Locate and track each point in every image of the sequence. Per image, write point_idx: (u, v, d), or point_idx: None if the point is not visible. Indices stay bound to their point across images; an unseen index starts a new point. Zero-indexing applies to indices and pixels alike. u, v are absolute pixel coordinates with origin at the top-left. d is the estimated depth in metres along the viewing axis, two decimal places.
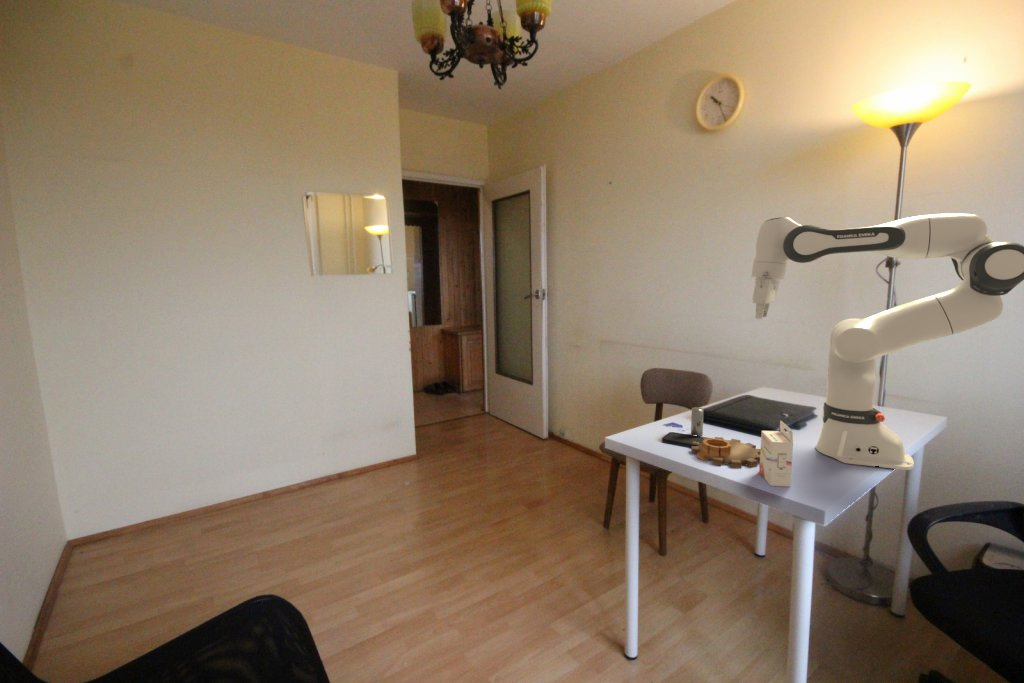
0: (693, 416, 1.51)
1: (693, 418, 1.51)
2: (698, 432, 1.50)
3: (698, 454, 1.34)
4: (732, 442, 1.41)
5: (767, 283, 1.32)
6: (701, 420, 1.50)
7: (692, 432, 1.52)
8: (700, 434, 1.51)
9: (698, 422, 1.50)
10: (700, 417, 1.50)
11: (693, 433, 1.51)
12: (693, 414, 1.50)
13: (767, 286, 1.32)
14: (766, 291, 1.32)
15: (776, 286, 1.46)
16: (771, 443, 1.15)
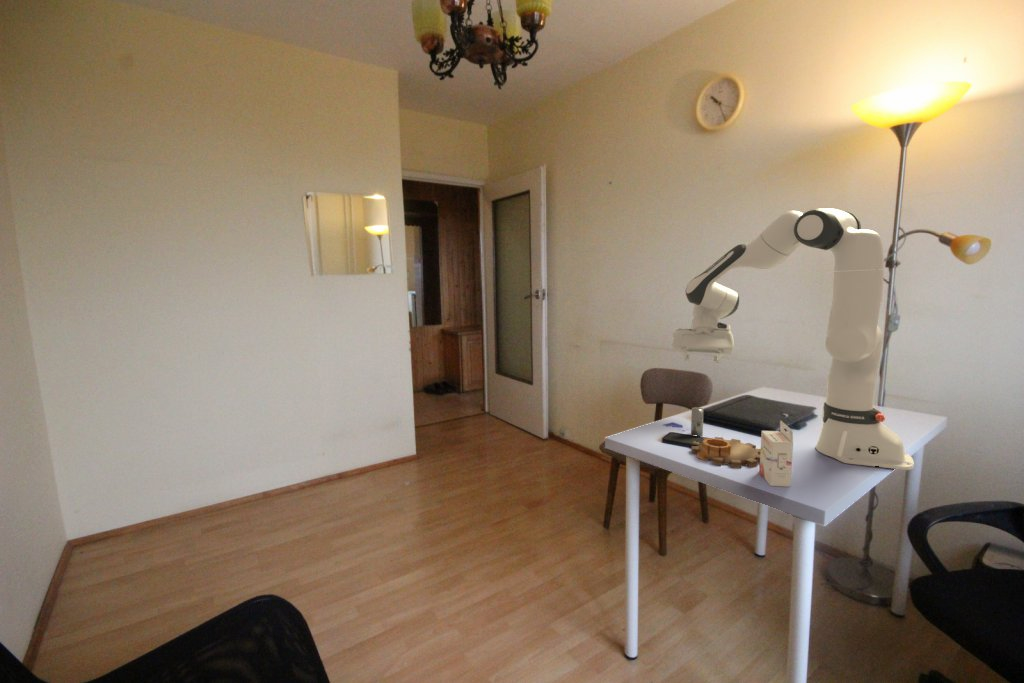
0: (693, 416, 1.51)
1: (693, 418, 1.51)
2: (698, 432, 1.50)
3: (698, 454, 1.34)
4: (732, 442, 1.41)
5: (675, 333, 1.69)
6: (701, 420, 1.50)
7: (692, 432, 1.52)
8: (700, 434, 1.51)
9: (698, 422, 1.50)
10: (700, 417, 1.50)
11: (693, 433, 1.51)
12: (693, 414, 1.50)
13: (675, 334, 1.68)
14: (674, 338, 1.67)
15: (726, 336, 1.61)
16: (771, 443, 1.15)
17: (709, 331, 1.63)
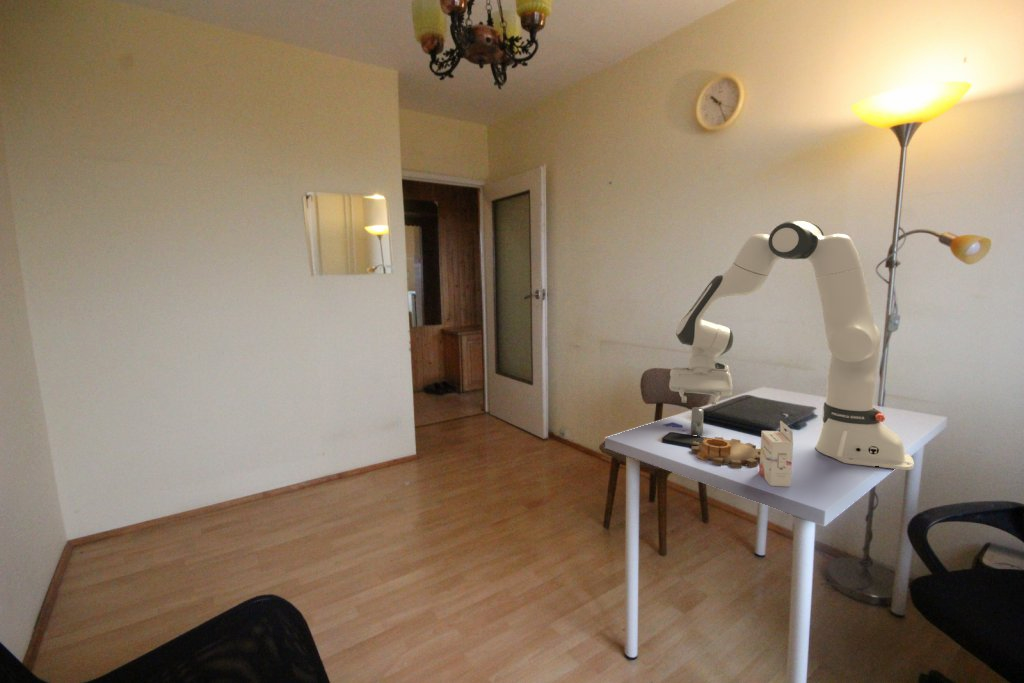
0: (693, 416, 1.51)
1: (693, 418, 1.51)
2: (698, 432, 1.50)
3: (698, 454, 1.34)
4: (732, 442, 1.41)
5: (672, 372, 1.64)
6: (701, 420, 1.50)
7: (692, 432, 1.52)
8: (700, 434, 1.51)
9: (698, 422, 1.50)
10: (700, 417, 1.50)
11: (693, 433, 1.51)
12: (693, 414, 1.50)
13: (672, 374, 1.64)
14: None
15: (724, 377, 1.56)
16: (771, 443, 1.15)
17: (707, 371, 1.59)
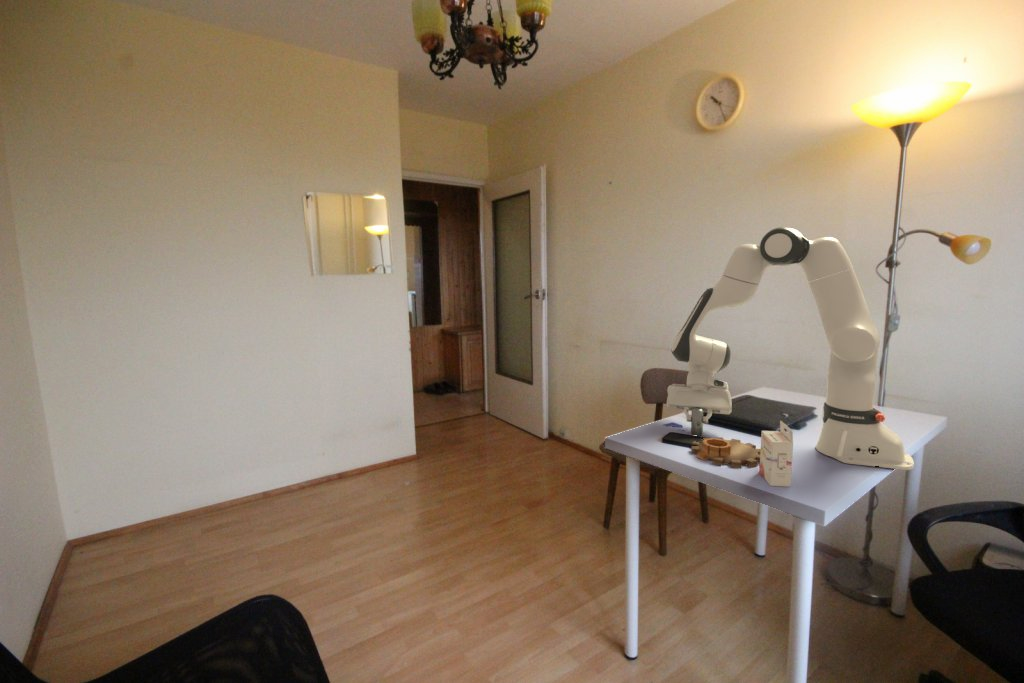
0: (693, 416, 1.51)
1: (693, 418, 1.51)
2: (698, 432, 1.50)
3: (698, 454, 1.34)
4: (732, 442, 1.41)
5: (670, 389, 1.60)
6: (701, 420, 1.50)
7: (692, 432, 1.52)
8: (700, 434, 1.51)
9: (698, 422, 1.50)
10: (700, 417, 1.50)
11: (693, 433, 1.51)
12: (693, 414, 1.50)
13: (669, 391, 1.59)
14: (668, 394, 1.58)
15: (724, 395, 1.51)
16: (771, 443, 1.15)
17: (705, 389, 1.54)
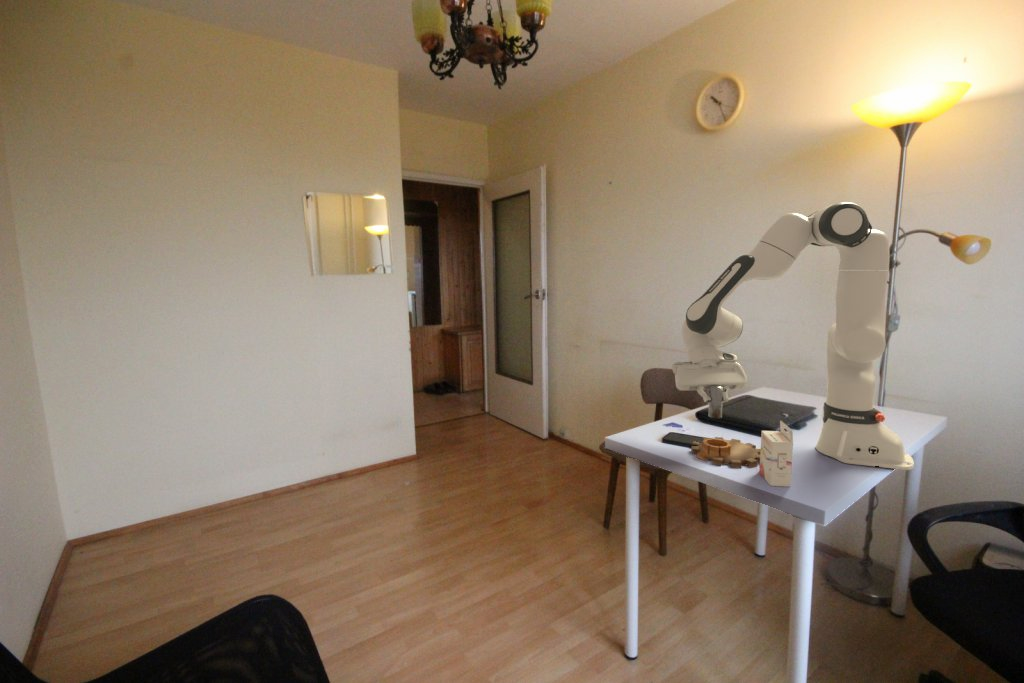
0: (714, 395, 1.33)
1: (714, 397, 1.33)
2: (719, 413, 1.33)
3: (698, 454, 1.34)
4: (732, 442, 1.41)
5: (677, 368, 1.39)
6: (722, 399, 1.33)
7: (712, 414, 1.34)
8: (721, 415, 1.33)
9: (720, 401, 1.32)
10: (721, 396, 1.33)
11: (714, 414, 1.33)
12: (714, 393, 1.33)
13: (677, 370, 1.38)
14: (677, 374, 1.38)
15: (736, 368, 1.38)
16: (771, 443, 1.15)
17: (716, 364, 1.38)
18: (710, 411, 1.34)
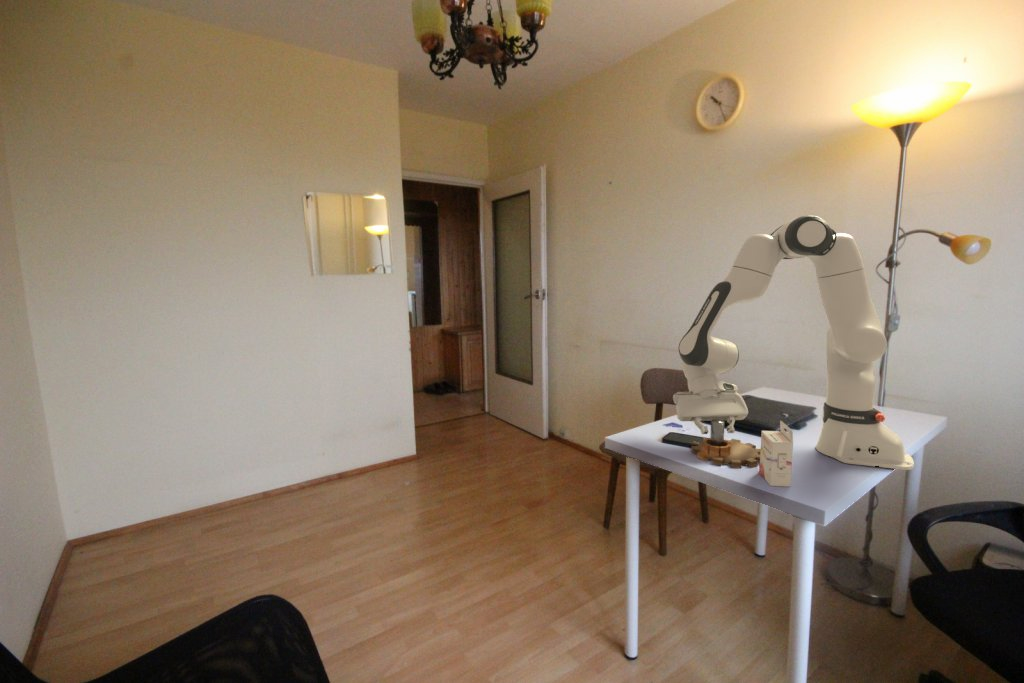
0: (715, 430, 1.33)
1: (715, 432, 1.33)
2: None
3: (698, 454, 1.34)
4: (732, 442, 1.41)
5: (678, 399, 1.39)
6: (723, 433, 1.33)
7: None
8: None
9: (721, 436, 1.32)
10: (723, 431, 1.33)
11: None
12: (715, 428, 1.32)
13: (679, 401, 1.38)
14: (679, 405, 1.37)
15: (736, 399, 1.38)
16: (771, 443, 1.15)
17: (716, 394, 1.38)
18: None
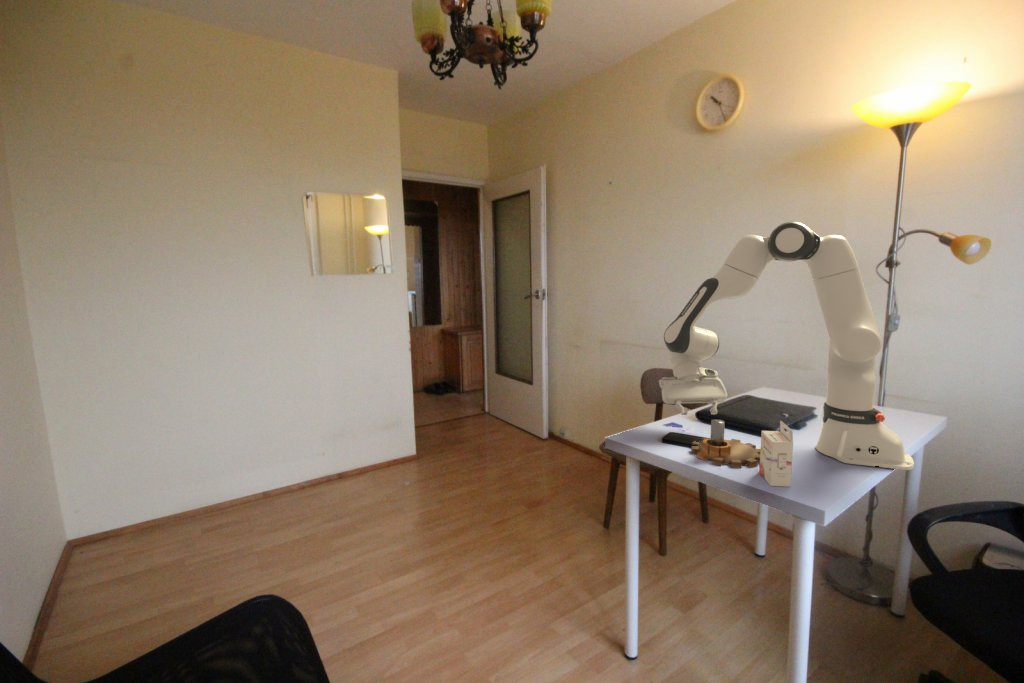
0: (715, 430, 1.33)
1: (716, 433, 1.33)
2: None
3: (698, 454, 1.34)
4: (732, 442, 1.41)
5: (664, 383, 1.51)
6: (723, 434, 1.33)
7: None
8: None
9: (721, 436, 1.32)
10: (723, 431, 1.33)
11: None
12: (715, 428, 1.32)
13: (664, 385, 1.50)
14: (664, 389, 1.50)
15: (717, 383, 1.50)
16: (771, 443, 1.15)
17: (698, 379, 1.51)
18: None
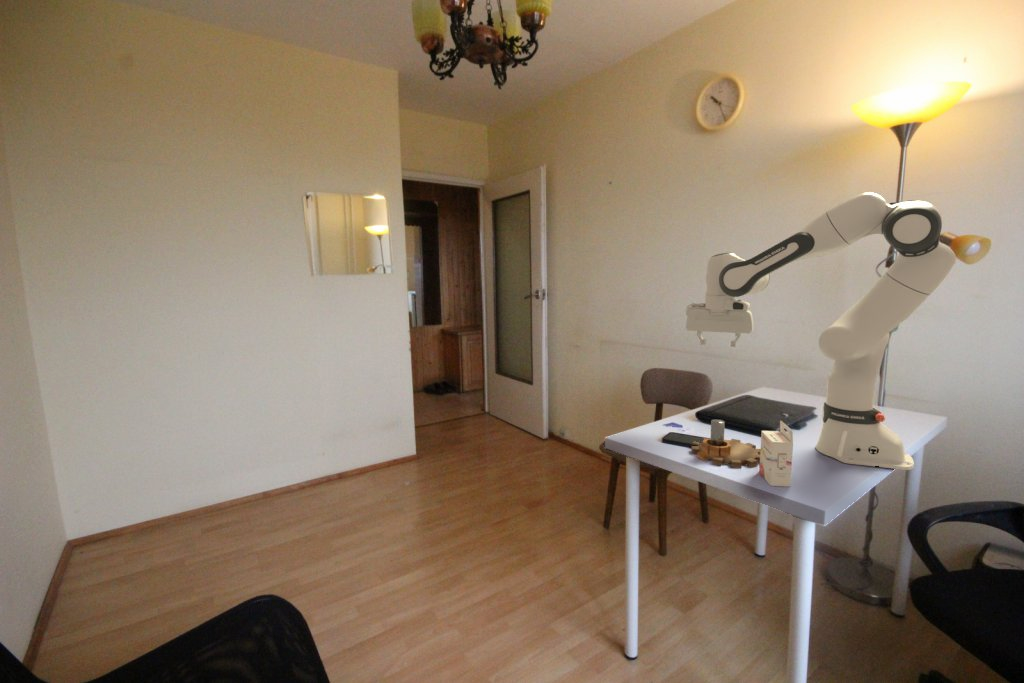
0: (716, 430, 1.32)
1: (716, 433, 1.33)
2: None
3: (698, 454, 1.34)
4: (732, 442, 1.41)
5: (688, 313, 1.55)
6: (723, 434, 1.33)
7: None
8: None
9: (721, 436, 1.32)
10: (723, 431, 1.33)
11: None
12: (716, 428, 1.32)
13: (688, 315, 1.55)
14: None
15: (744, 317, 1.45)
16: (771, 443, 1.15)
17: (724, 312, 1.48)
18: None
